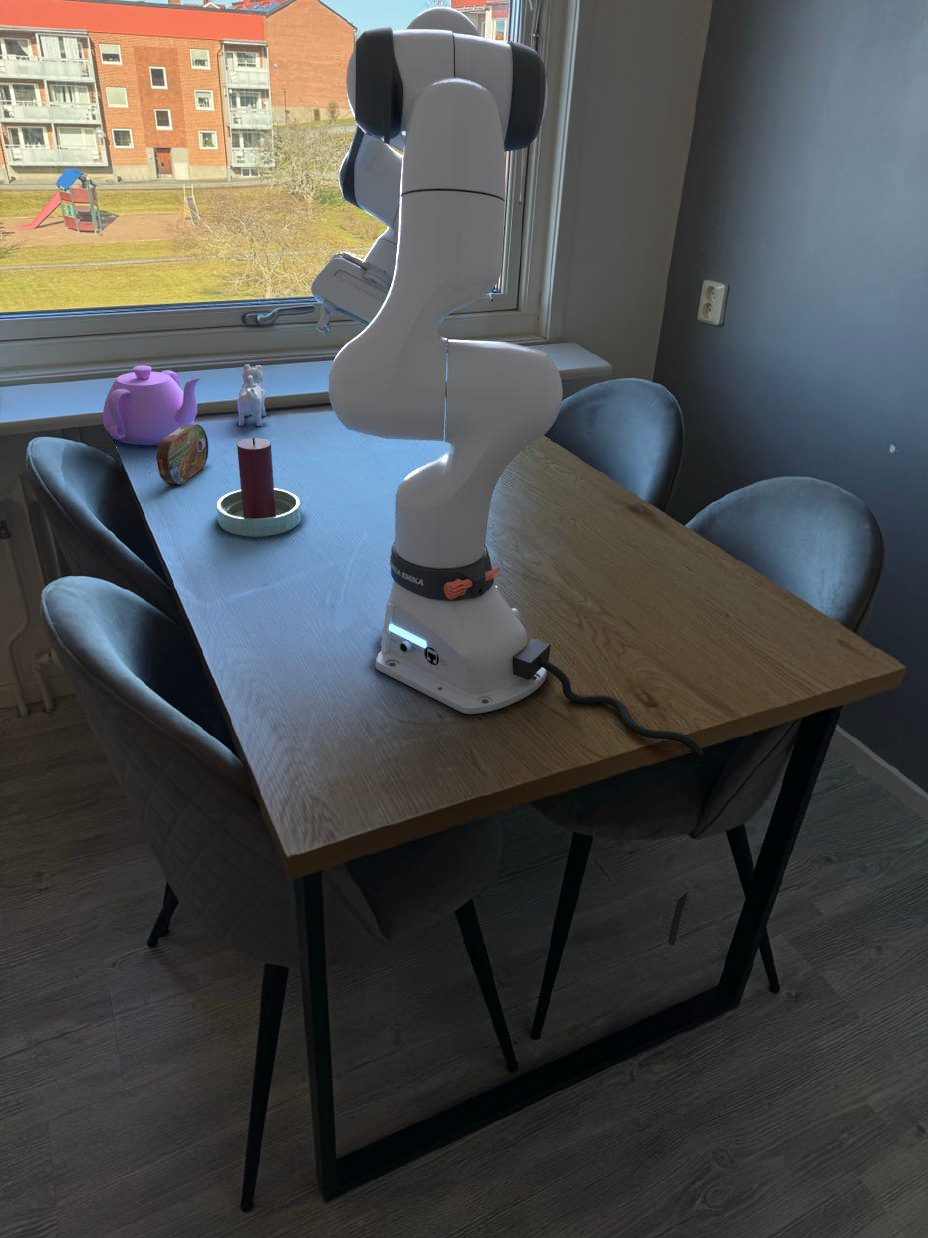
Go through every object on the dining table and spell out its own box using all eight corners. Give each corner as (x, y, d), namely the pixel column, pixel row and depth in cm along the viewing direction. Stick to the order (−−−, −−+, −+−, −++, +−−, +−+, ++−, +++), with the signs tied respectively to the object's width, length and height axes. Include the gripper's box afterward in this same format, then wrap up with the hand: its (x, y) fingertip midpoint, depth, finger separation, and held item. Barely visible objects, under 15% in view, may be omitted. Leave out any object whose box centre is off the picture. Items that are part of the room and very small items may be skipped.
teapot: (175, 464, 164) (166, 391, 157) (78, 446, 170) (65, 374, 163) (238, 429, 182) (232, 362, 175) (148, 414, 188) (139, 348, 181)
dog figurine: (268, 409, 195) (265, 360, 189) (263, 427, 184) (260, 376, 179) (243, 408, 194) (240, 360, 189) (237, 427, 183) (233, 376, 178)
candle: (282, 520, 144) (276, 439, 137) (253, 528, 141) (246, 445, 134) (265, 510, 148) (259, 430, 140) (237, 517, 145) (230, 436, 137)
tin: (173, 491, 153) (167, 445, 149) (157, 489, 154) (150, 443, 149) (211, 462, 166) (207, 418, 162) (196, 460, 166) (191, 416, 162)
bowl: (316, 525, 144) (315, 507, 143) (243, 545, 137) (242, 526, 135) (274, 498, 153) (273, 481, 151) (204, 516, 145) (202, 498, 143)
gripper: (332, 236, 143) (286, 306, 142) (435, 286, 137) (388, 359, 136) (344, 259, 149) (300, 326, 148) (443, 308, 144) (398, 378, 143)
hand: (343, 343), depth 142 cm, fingers open, 8 cm apart
